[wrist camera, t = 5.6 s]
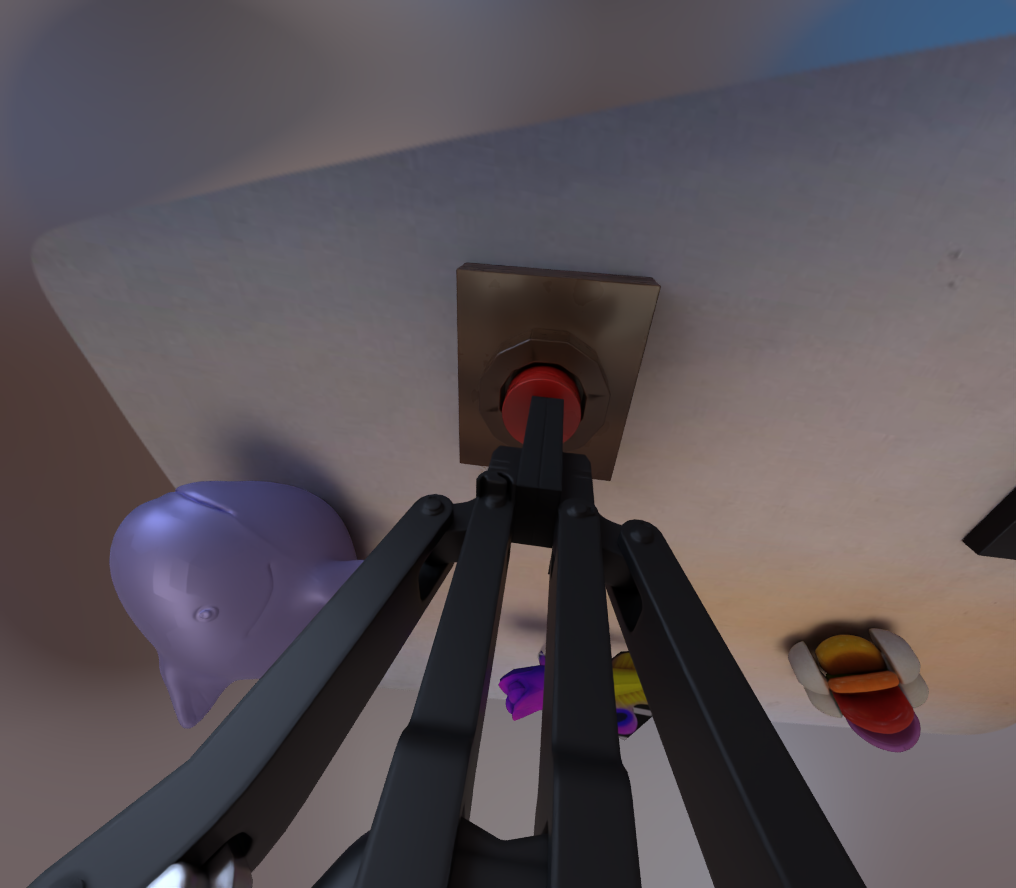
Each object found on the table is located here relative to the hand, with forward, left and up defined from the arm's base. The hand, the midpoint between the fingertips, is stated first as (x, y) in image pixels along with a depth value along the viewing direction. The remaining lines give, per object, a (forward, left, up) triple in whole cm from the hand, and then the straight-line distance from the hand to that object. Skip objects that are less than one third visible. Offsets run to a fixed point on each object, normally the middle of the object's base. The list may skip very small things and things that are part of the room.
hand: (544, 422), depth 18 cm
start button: (0, 0, -3) cm, 3 cm away
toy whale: (+23, -11, -7) cm, 26 cm away
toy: (+23, +16, -7) cm, 29 cm away
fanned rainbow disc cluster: (+14, +35, -7) cm, 38 cm away
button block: (0, 0, -6) cm, 6 cm away
